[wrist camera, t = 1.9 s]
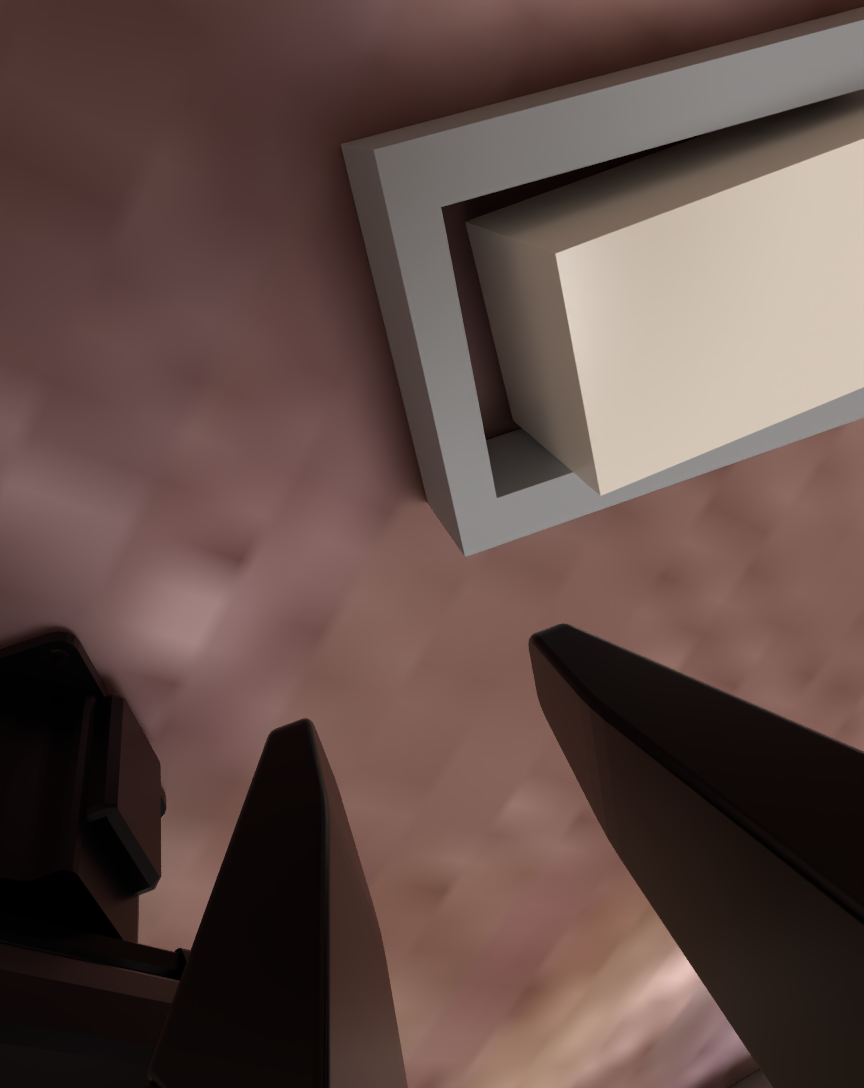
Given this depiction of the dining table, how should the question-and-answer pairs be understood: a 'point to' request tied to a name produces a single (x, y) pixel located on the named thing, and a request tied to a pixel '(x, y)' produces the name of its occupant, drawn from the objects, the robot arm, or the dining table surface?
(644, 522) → the dining table surface
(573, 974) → the dining table surface
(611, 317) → the block
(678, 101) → the holder
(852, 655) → the dining table surface
